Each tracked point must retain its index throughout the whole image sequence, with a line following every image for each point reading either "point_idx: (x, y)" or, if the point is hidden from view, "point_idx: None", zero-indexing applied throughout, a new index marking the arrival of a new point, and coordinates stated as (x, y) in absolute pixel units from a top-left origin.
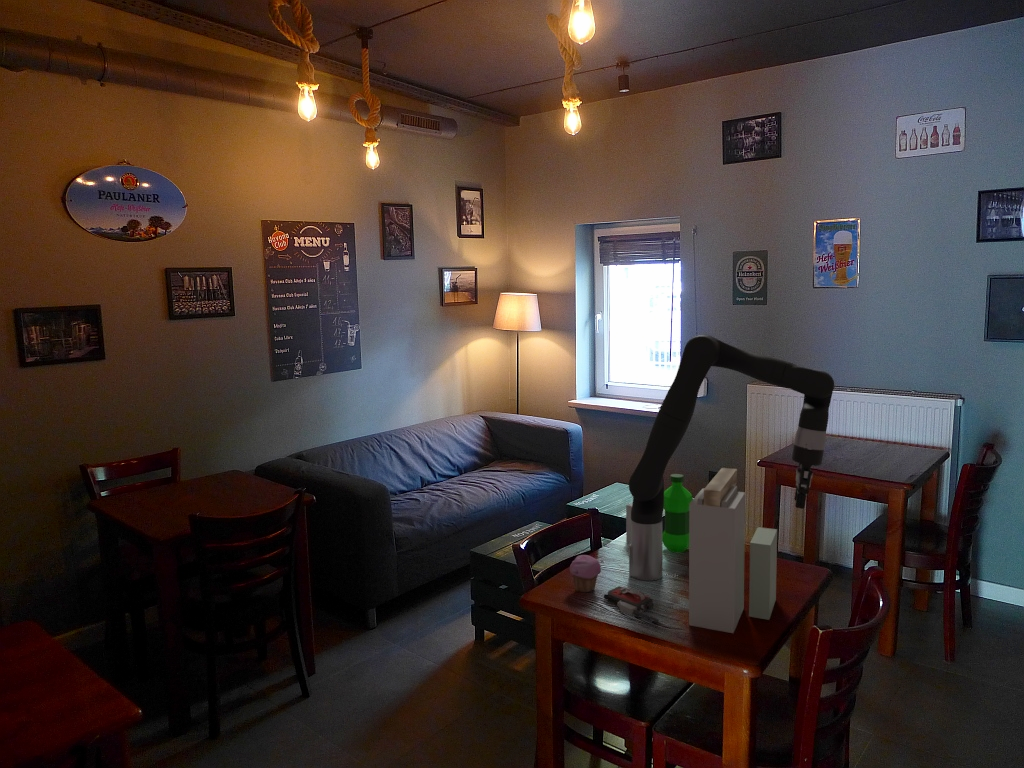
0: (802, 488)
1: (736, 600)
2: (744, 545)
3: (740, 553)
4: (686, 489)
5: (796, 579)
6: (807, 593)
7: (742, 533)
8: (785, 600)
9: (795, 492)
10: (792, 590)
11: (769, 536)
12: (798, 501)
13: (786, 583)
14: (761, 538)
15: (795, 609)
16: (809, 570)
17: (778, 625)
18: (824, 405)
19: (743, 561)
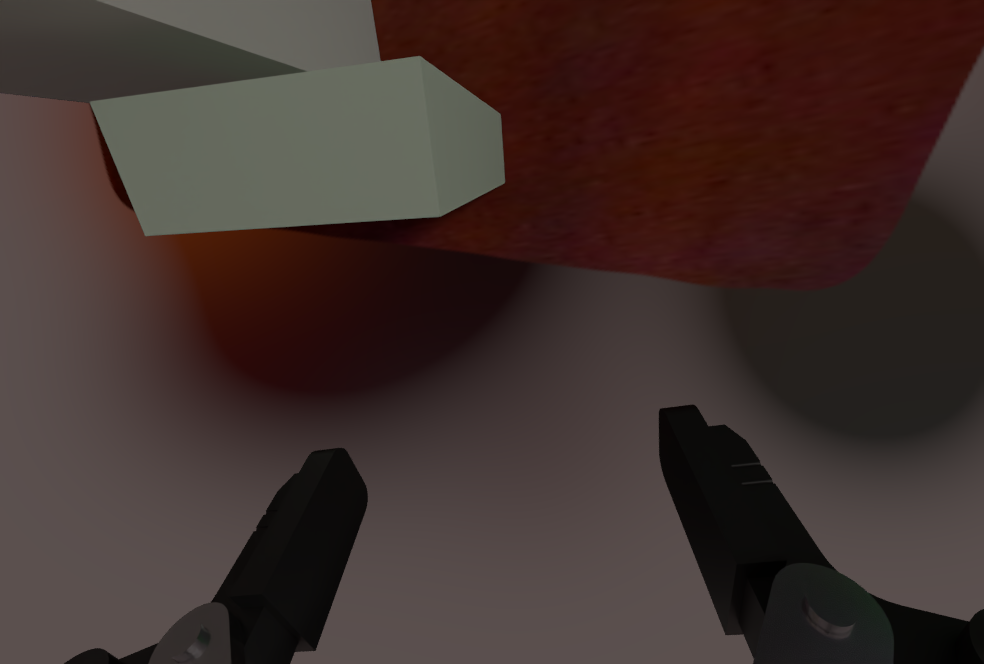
0: (729, 615)
1: None
2: (212, 39)
3: (87, 60)
4: None
5: (719, 215)
6: (601, 266)
7: (5, 17)
8: (516, 212)
9: (723, 474)
10: (608, 219)
11: (276, 197)
12: (264, 522)
13: (667, 188)
14: (208, 155)
15: (465, 250)
16: (832, 245)
17: (342, 225)
18: None
19: (253, 64)
